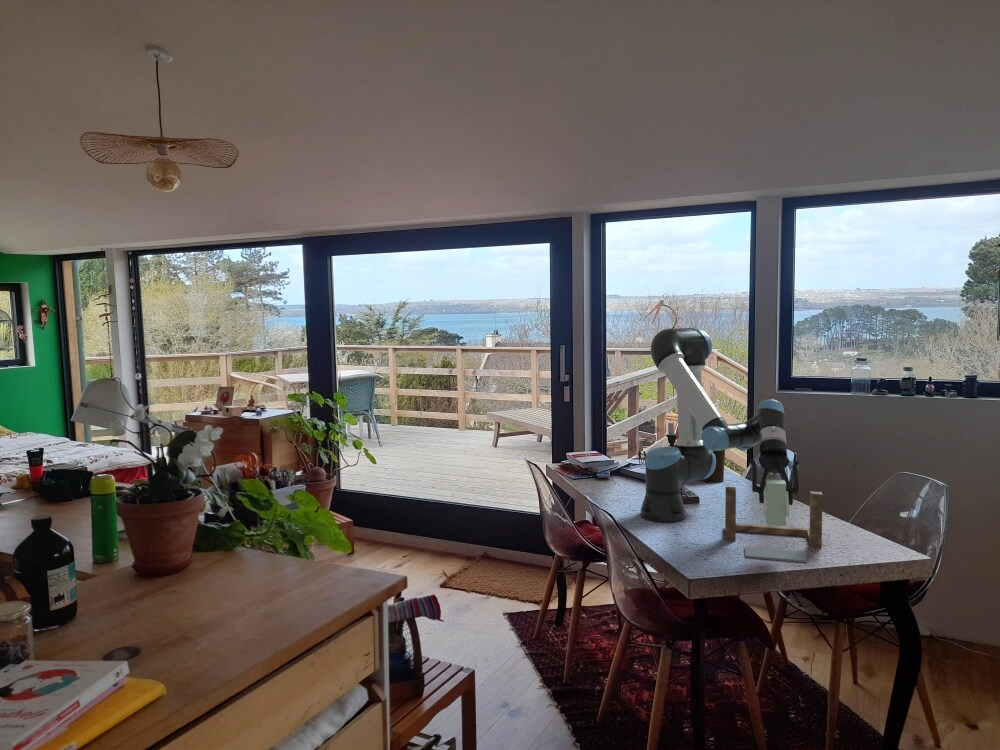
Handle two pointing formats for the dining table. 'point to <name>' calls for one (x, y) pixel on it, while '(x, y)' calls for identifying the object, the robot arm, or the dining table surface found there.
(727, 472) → the dining table surface
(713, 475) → the olive oil
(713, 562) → the dining table surface
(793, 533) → the frame
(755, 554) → the mat
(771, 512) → the tall green square pillar
